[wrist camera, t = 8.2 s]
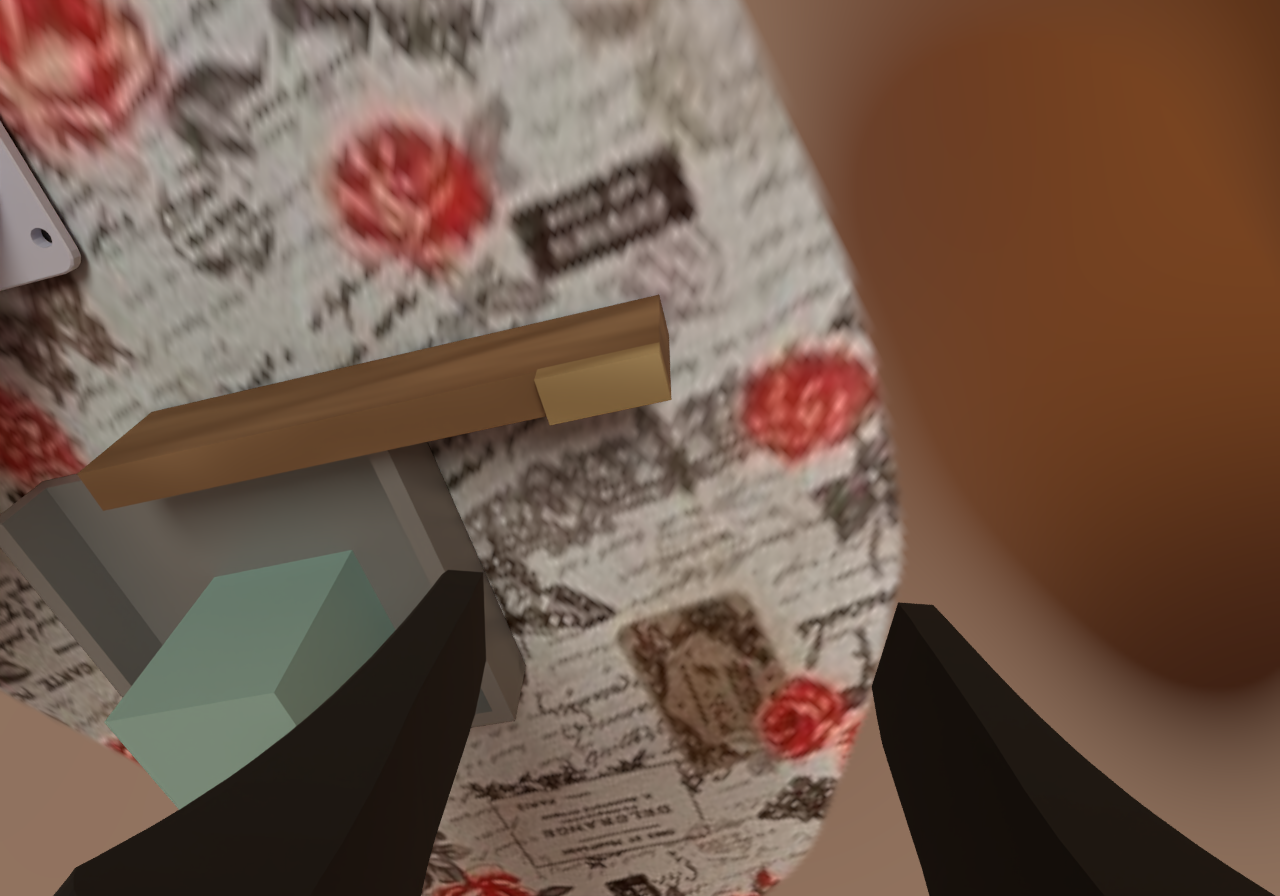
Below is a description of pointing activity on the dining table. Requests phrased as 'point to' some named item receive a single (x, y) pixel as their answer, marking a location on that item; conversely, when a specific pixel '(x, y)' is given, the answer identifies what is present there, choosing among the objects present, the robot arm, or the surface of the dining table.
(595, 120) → the dining table surface
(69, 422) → the dining table surface
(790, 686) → the dining table surface
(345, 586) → the block
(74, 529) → the grey open tray
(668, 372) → the long wooden plank
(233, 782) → the robot arm
